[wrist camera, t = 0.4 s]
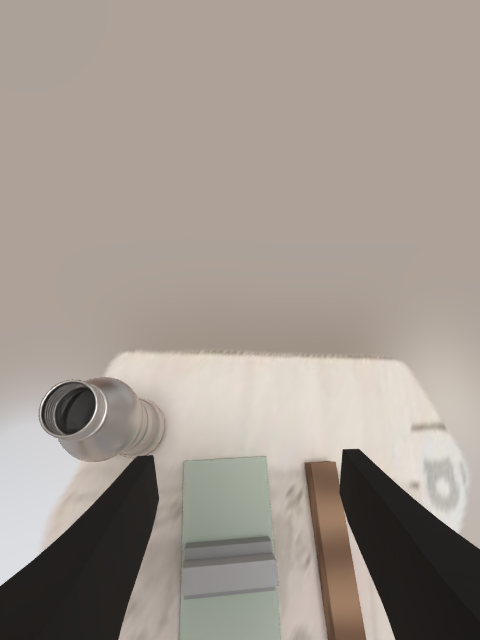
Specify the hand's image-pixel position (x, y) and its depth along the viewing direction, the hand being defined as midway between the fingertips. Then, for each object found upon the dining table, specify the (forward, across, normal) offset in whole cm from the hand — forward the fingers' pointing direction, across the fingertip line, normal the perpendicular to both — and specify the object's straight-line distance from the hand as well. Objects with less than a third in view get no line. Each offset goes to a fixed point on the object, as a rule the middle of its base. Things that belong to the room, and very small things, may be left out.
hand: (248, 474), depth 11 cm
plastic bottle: (+23, +13, +14) cm, 30 cm away
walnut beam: (+16, -9, +26) cm, 32 cm away
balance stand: (+15, +2, +25) cm, 29 cm away
